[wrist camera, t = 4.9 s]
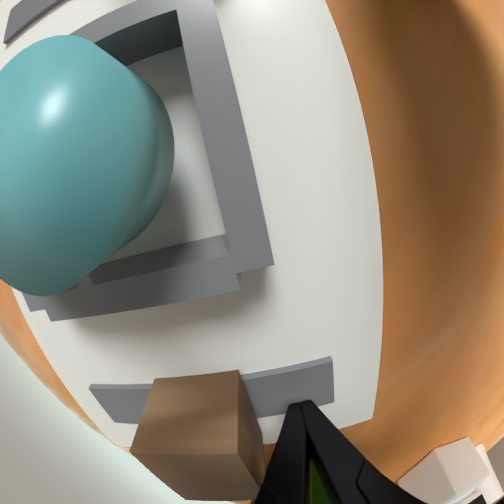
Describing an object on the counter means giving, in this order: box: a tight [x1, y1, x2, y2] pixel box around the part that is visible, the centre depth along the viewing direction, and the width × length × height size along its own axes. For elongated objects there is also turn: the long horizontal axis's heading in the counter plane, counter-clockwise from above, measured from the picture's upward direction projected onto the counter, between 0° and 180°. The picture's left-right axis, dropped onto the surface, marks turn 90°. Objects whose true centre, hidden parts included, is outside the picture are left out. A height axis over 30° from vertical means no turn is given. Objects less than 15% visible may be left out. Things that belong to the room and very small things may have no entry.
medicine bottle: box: [398, 437, 490, 504], centre depth 12 cm, size 7×7×12 cm
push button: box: [0, 35, 175, 296], centre depth 4 cm, size 4×4×2 cm
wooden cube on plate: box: [130, 369, 265, 501], centre depth 7 cm, size 3×4×3 cm
